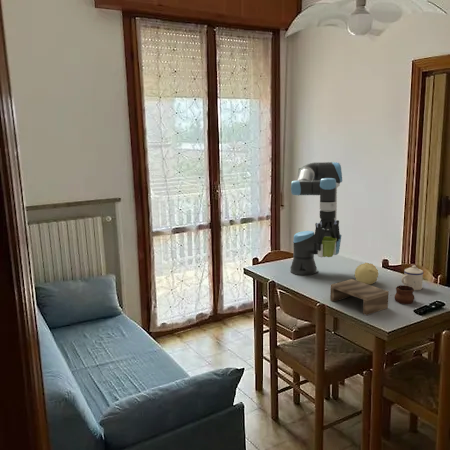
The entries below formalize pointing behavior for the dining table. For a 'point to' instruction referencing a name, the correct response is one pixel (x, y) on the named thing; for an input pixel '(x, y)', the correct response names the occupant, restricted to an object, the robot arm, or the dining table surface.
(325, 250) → the plant pot
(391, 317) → the dining table surface
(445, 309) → the dining table surface
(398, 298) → the ceramic pot
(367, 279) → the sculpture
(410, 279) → the teacup with lid
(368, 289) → the walnut shelf
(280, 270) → the dining table surface
